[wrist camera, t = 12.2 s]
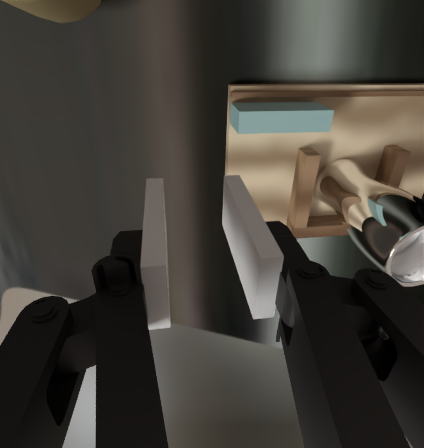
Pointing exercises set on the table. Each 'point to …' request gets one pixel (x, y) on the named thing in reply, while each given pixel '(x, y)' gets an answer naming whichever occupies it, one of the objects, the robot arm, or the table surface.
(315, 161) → the board
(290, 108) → the block
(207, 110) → the table surface
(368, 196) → the beer glass
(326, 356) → the robot arm
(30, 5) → the squeeze bottle
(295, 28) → the table surface
